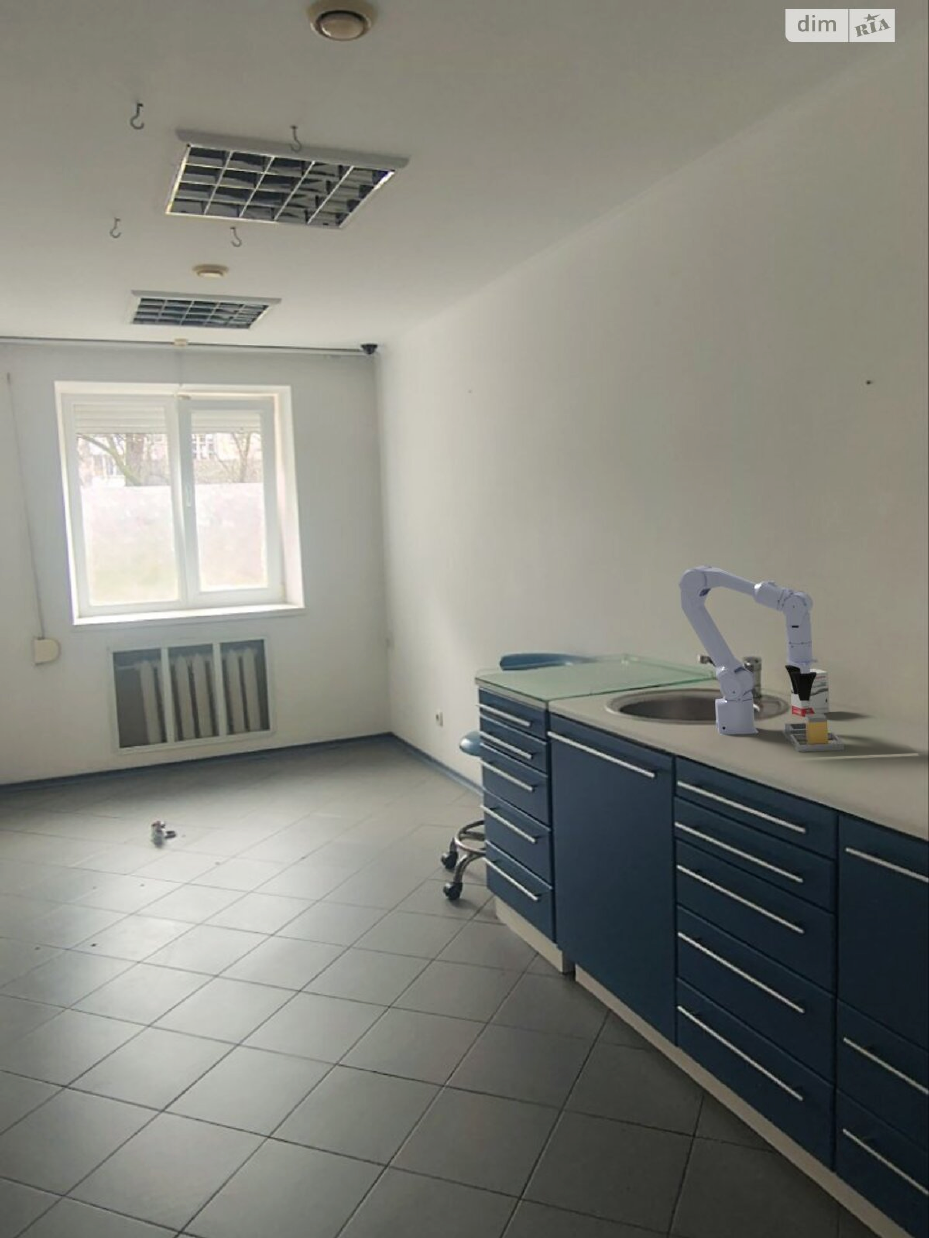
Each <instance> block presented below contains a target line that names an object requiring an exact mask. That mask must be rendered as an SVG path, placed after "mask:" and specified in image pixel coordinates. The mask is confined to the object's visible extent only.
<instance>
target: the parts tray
mask: <svg viewBox="0 0 929 1238" xmlns="http://www.w3.org/2000/svg"><path fill="white" fill-rule="evenodd" d="M828 740H832V741H833V742H834V743H833V742H832V743H831V742H830V743H828V744H809V745H808V744H800V743H799V742H800V741H807V738H806V734H790V739H789V741H790V743H791V744H792V745H793V747H794V748H795V750H796V751H797V752H798V753H803V752H827V751H845V743H844V742H843V741H842V740H841V739H840V738H839V737H838V736H837V734H836V733H835V732H828ZM798 741H799V742H798Z"/></svg>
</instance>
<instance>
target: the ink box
mask: <svg viewBox="0 0 929 1238" xmlns="http://www.w3.org/2000/svg"><path fill="white" fill-rule="evenodd" d="M810 672H816V673H817V675H816V677H815V679H814V681H813V684H812V689H811V695H810V699H809V701H800V699H799V696H798V694H794V691H793V687H792V683H791V682H790V697H791V698H790V700H791V701H790V704H791V714H792V715H796V716H800V717H805V714H822V713H823V714H826V713H827V714H828V713H830V695H829V694H830V693H829V692H830V691H829V690H830V689H829V687H830V685H829V672H828V671H825V670H822V669H819V668H810Z"/></svg>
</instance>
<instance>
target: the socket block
mask: <svg viewBox="0 0 929 1238" xmlns="http://www.w3.org/2000/svg"><path fill="white" fill-rule="evenodd" d="M780 732H781V733H782V735H783V736H784V738H785V739H786V740H790V734H806V721H805V722H787V723H784V729H783V728H782V729H780Z"/></svg>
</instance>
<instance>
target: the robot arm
mask: <svg viewBox="0 0 929 1238" xmlns="http://www.w3.org/2000/svg"><path fill="white" fill-rule="evenodd" d="M775 583H776V582H775V581H774V580H768V581H767V580H763V581H761V582H758V583H756V582H754V581H752V580H749V579H747V578H744V577H742V576H739V575H737V574H734V573H732V572H729V571H726V570H724V569H722V568H719V567H714V566H713V567H712V566H710V565H708V564H701V565H699V566H696V567H693V568H692V567H691V568H688V569H686V570H684V571H683V572H682V574H681V577H680V579H679V582H678V587H679V589H680V604H681V609H682V611H683V613H684V615H685V617H686V618H687V619H688V622H689V623H690V625H691V628H693V630H694V632H695V634H696V635H697V637H698V639H699V641H700V642H701V644H702V646H703V647H704V650H705V651H706V653H707V654H708V656H709V658H710V660H711V662H712V663H713V665H714V667H715V677H716V679H717V681H718V684H719V685H718V686H719V691H720V693H721V694H722V696H723V698H716V699H715V701H714V702H715V704H714V705H715V719H716V720H715V727H716V729H717V732H718V734H719V735H721V736H722V735H725V736H726V735H740V734H741V735H742V734H743V735H744V734H746V735H747V734H758V733H759V731H758V730H757V727H756V725H755V710H754V709H755V708H754V695H753V693H752V690H753V689H754V687H755V685H756V680H755V679H756V678H755V675H754V674H753V672H752V671H751V670H748V669H747V668H746V667H745V666H744V664H743V662H741V661H740V660H739V659H737V658H736V657H735V655H734V654H733V652H732V650H731V649H730V647H729V645H728V643H727V642H726V640H725V639H724V637H723V635H722V634H721V633H722V632H721V631H720V630H719V628H718V626H717V625H716V622H714V619H713V617H712V616H711V615H710V613H709V611H708V609H707V607H706V606H705V602H706V600H707V597H708V594H709V593H710V591H711V590H712V589H713V588H720V587H723V588H726V589H730V590H733V591H736V592H737V593H738V592H739V593H741V594H746V595H749V596H752V597H753V600H754V602H755V603H757V604H759V605H762V606H765V607H767V608H770V609H773V610H775V611H778V612H782V614H783V615H784V617H785V634H786V635H785V636H786V637H785V638H786V665H784V668H785V670H786V672H787V673H788V676H789V679H790V684H791V683H792V687H793V691H794V694H798V696H799V699H800V701H809V699H810V695H811V689H812V684H813V681H814V679H815V677H816V675H817V673H816V672H810V669H811V666H812V665H813V664H814V663H819V660H818V659H817V658H813V646H812V644H813V643H812V641H813V639H812V623H811V612H810V611H811V610H812V608H813V599H812V597H811V596H810V595H809V594H808V593H806V592H804V591H803V590H797V591H795V592H794V588H792V587H789V588H786V587H784V586H780V585H778V584H775ZM759 734H760V733H759Z"/></svg>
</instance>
